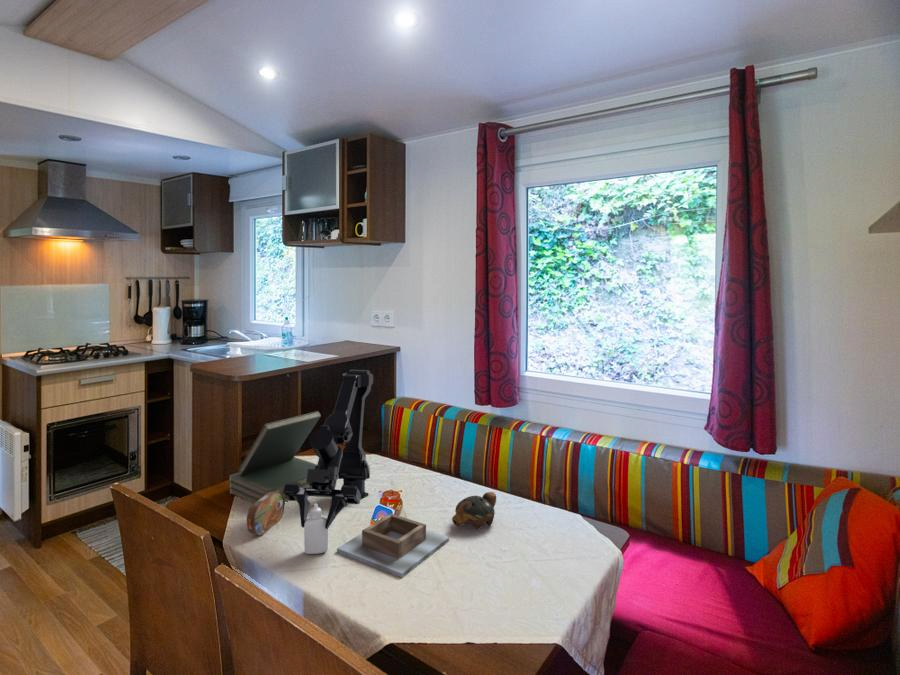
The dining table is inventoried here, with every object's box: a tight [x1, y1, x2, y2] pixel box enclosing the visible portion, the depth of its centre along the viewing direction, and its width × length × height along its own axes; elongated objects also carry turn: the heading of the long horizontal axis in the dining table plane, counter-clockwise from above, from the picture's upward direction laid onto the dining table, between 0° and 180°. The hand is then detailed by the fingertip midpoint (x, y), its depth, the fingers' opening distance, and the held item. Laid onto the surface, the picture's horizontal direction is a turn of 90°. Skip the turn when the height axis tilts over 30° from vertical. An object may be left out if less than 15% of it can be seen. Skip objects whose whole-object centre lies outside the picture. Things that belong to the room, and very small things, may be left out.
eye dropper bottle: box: [303, 502, 329, 555], centre depth 126 cm, size 4×6×12 cm
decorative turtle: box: [451, 491, 497, 530], centre depth 143 cm, size 10×15×8 cm, turn 135°
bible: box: [228, 410, 322, 504], centre depth 163 cm, size 23×20×25 cm
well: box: [336, 513, 450, 578], centre depth 130 cm, size 20×20×5 cm
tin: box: [246, 491, 286, 536], centre depth 139 cm, size 15×3×8 cm, turn 168°
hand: (314, 527), depth 125 cm, fingers closed on eye dropper bottle, 6 cm apart
